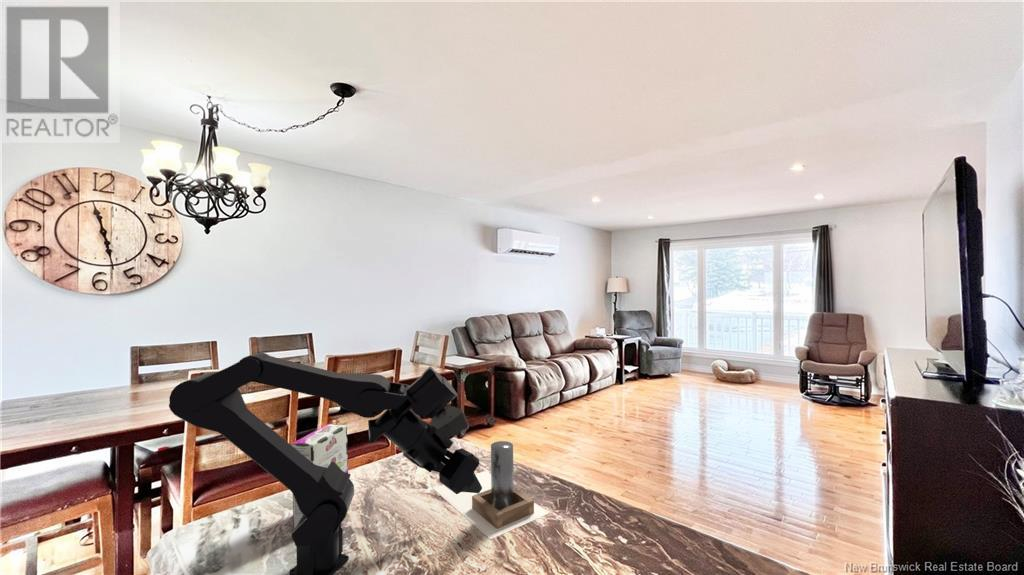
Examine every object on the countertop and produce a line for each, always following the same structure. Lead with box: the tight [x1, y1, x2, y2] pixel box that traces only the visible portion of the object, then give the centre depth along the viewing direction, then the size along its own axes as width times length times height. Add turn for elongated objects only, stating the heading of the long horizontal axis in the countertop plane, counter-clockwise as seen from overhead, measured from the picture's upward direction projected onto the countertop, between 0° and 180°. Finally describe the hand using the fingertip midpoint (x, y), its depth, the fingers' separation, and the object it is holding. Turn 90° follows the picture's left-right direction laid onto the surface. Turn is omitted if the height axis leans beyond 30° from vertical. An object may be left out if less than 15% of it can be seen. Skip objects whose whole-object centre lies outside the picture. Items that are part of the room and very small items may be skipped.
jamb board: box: [432, 470, 550, 540], centre depth 86 cm, size 23×14×1 cm, turn 37°
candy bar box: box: [290, 423, 349, 529], centre depth 83 cm, size 11×5×16 cm, turn 168°
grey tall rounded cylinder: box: [490, 440, 514, 510], centre depth 82 cm, size 4×4×13 cm
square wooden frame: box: [472, 486, 535, 529], centre depth 82 cm, size 9×9×2 cm
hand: (466, 481), depth 77 cm, fingers open, 9 cm apart
